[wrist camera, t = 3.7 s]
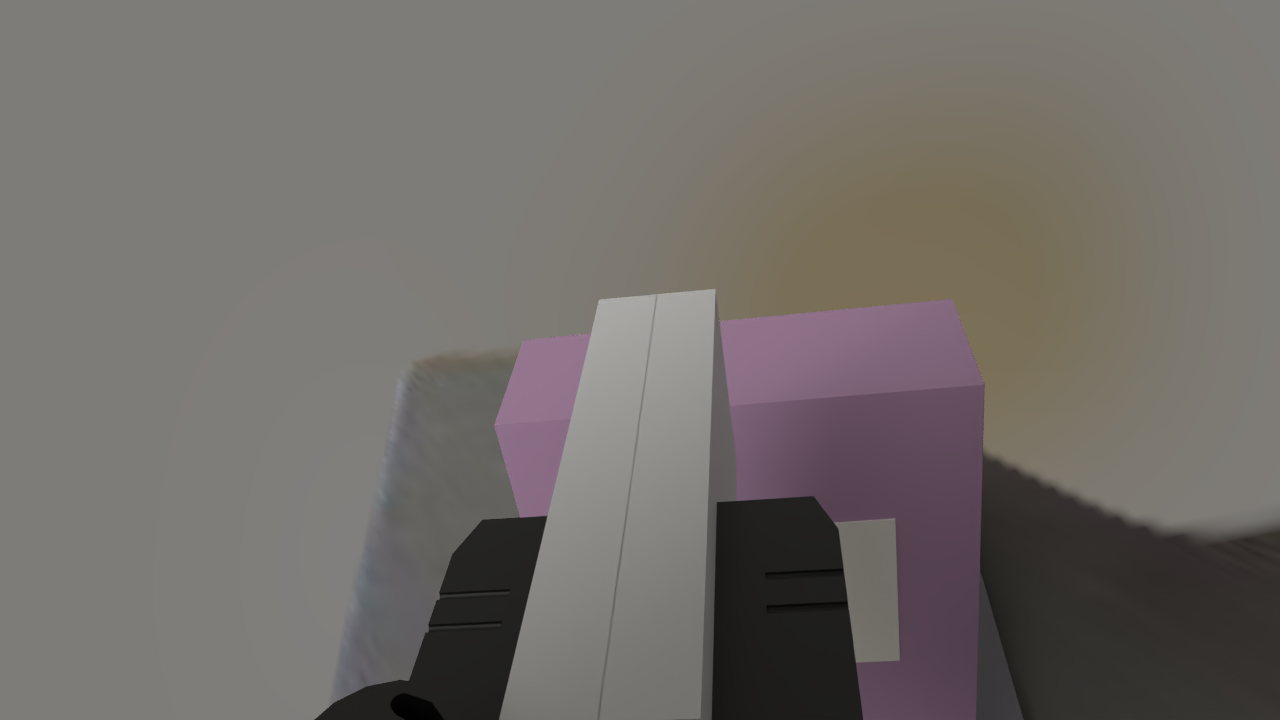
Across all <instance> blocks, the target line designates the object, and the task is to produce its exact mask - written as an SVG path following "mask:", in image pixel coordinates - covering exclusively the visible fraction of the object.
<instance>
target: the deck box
mask: <svg viewBox="0 0 1280 720" xmlns="http://www.w3.org/2000/svg"><path fill="white" fill-rule="evenodd" d="M720 330H721V338H722V346H723V354H724V362H725V371H726V379H727V387H728V395H729V403H730V412H731V420H732V428H733V436H734V444H735V453H736V461H737V501H743V500H759V499H775V498H791V497H807V496H814V497H815V499H816V500H817V501H818V503H819V504H820V505H821V506H822V508H823V509H824V510H825V512H826V513H827V514H828V516H829V517H830V518H831V520H832V521H833V522H834V523H835V525H836V526H837V527H838V529H839V536H840V544H841V552H842V559H843V567H844V576H845V582H846V590H847V598H848V608H849V613H850V621H851V629H852V636H853V644H854V652H855V660H856V667H857V675H858V683H859V690H860V698H861V706H862V714H863V720H976V700H977V661H978V621H979V582H980V543H981V504H982V464H983V425H984V421H983V420H984V386H985V385H984V382H983V379H982V377H981V374H980V371H979V369H978V366H977V363H976V361H975V358H974V356H973V353H972V350H971V347H970V345H969V342H968V340H967V337H966V334H965V332H964V329H963V326H962V324H961V321H960V318H959V316H958V313H957V310H956V308H955V306H954V302H953V300H952V299H947V300H936V301H926V302H916V303H906V304H895V305H884V306H874V307H863V308H853V309H842V310H832V311H821V312H812V313H802V314H791V315H780V316H769V317H759V318H749V319H738V320H729V321H728V320H727V321H720ZM590 336H591V334H581V335H572V336H560V337H550V338H539V339H529V340H523V343H522V346H521V349H520V352H519V355H518V357H517V360H516V363H515V366H514V369H513V372H512V375H511V378H510V381H509V384H508V387H507V390H506V393H505V396H504V398H503V401H502V404H501V407H500V410H499V413H498V416H497V419H496V422H495V425H494V426H495V429H496V433H497V436H498V440H499V444H500V447H501V451H502V454H503V458H504V461H505V465H506V468H507V472H508V475H509V479H510V482H511V486H512V490H513V493H514V497H515V500H516V504H517V507H518V511H519V514H520V518H521V517H537V516H548V512H549V508H550V504H551V500H552V496H553V491H554V487H555V483H556V479H557V475H558V470H559V466H560V462H561V458H562V454H563V449H564V445H565V441H566V437H567V433H568V429H569V424H570V420H571V416H572V412H573V408H574V403H575V399H576V395H577V391H578V387H579V382H580V378H581V374H582V370H583V366H584V362H585V357H586V353H587V349H588V345H589V341H590Z"/></svg>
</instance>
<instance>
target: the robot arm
mask: <svg viewBox="0 0 1280 720" xmlns="http://www.w3.org/2000/svg"><path fill="white" fill-rule="evenodd" d="M439 593H440V600H437V601H436V604H435V607H434V610H433V613H432V616H431V618H430V621H429V624H428V625H429V632H428V633H425V636H424V639H423V642H422V645H421V648H420V651H419V653H418V656H417V659H416V662H415V665H414V668H413V671H412V674H411V677H410V680H409V681H403V680H398V681H393V682H387V683H382V684H377V685H372V686H367V687H365V688H363V689H361V690H359V691H357V692H355V693H353V694H351V695H349V696H347V697H345V698H343V699H341V700H339V701H337V702H335V703H333V704H332V705H331V706H330V707H329V708H328V709H326V710H325V711H324V712H323V713H322V714H321V715H320V716H319V717H317V718H316V719H315V720H863V714H862V706H861V698H860V690H859V683H858V675H857V667H856V660H855V652H854V644H853V636H852V629H851V621H850V613H849V608H848V598H847V590H846V582H845V576H844V567H843V559H842V552H841V544H840V536H839V529H838V527H837V526H836V525H835V523H834V522H833V521H832V520H831V518H830V517H829V516H828V514H827V513H826V512H825V510H824V509H823V508H822V506H821V505H820V504H819V503H818V501H817V500H816V499H815V497H814V496H807V497H791V498H775V499H759V500H743V501H737V461H736V453H735V444H734V436H733V428H732V420H731V412H730V403H729V395H728V387H727V379H726V371H725V362H724V354H723V346H722V338H721V330H720V321H719V314H718V305H717V297H716V289H709V290H699V291H688V292H677V293H668V294H656V295H646V296H636V297H635V296H634V297H625V298H613V299H602V300H599V303H598V307H597V311H596V316H595V320H594V324H593V328H592V332H591V336H590V341H589V345H588V349H587V353H586V357H585V362H584V366H583V370H582V374H581V378H580V382H579V387H578V391H577V395H576V399H575V403H574V408H573V412H572V416H571V420H570V424H569V429H568V433H567V437H566V441H565V445H564V449H563V454H562V458H561V462H560V466H559V470H558V475H557V479H556V483H555V487H554V491H553V496H552V500H551V504H550V508H549V512H548V516H537V517H521V518H505V519H489V520H482V521H481V522H480V523H479V524H478V526H477V527H476V528H475V529H474V530H473V531H472V532H471V534H470V535H469V536H468V537H467V538H466V539H465V540H464V542H463V543H462V544H461V545H460V546H459V547H458V549H457V550H456V551H455V552H454V553H453V554H452V557H451V560H450V563H449V566H448V569H447V572H446V575H445V578H444V581H443V583H442V586H441V589H440V592H439Z"/></svg>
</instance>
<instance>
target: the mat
mask: <svg viewBox="0 0 1280 720" xmlns="http://www.w3.org/2000/svg"><path fill="white" fill-rule="evenodd" d="M976 720H1024V719H1023V716H1022V712H1021V709H1020V705H1019V702H1018V698H1017V695H1016V692H1015V688H1014V685H1013V681H1012V678H1011V674H1010V671H1009V667H1008V664H1007V661H1006V657H1005V654H1004V650H1003V647H1002V643H1001V640H1000V636H999V633H998V630H997V626H996V623H995V619H994V616H993V612H992V609H991V605H990V602H989V598H988V595H987V592H986V588H985V585H984V581H983V578H982V574H981V571H980V582H979V621H978V661H977V700H976Z"/></svg>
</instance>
